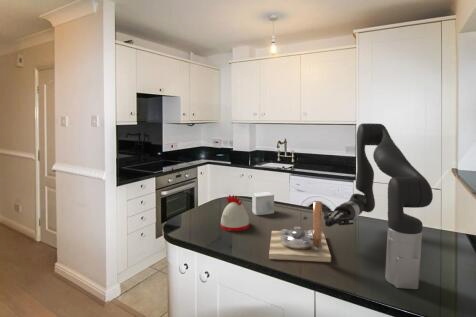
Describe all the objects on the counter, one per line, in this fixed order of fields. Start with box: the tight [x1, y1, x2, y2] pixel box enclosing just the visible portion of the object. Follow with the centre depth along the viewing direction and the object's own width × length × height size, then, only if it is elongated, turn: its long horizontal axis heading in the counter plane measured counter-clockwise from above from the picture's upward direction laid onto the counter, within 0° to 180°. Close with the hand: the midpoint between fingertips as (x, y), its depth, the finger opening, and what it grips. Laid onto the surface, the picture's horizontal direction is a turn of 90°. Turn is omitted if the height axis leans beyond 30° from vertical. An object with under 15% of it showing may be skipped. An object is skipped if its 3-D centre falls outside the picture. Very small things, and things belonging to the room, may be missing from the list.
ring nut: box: [280, 200, 323, 251], centre depth 116 cm, size 20×14×20 cm
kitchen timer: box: [220, 194, 251, 232], centre depth 144 cm, size 14×14×15 cm
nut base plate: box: [268, 230, 332, 263], centre depth 120 cm, size 22×22×2 cm
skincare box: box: [251, 191, 275, 216], centre depth 162 cm, size 10×6×10 cm, turn 106°
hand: (327, 223), depth 112 cm, fingers closed
